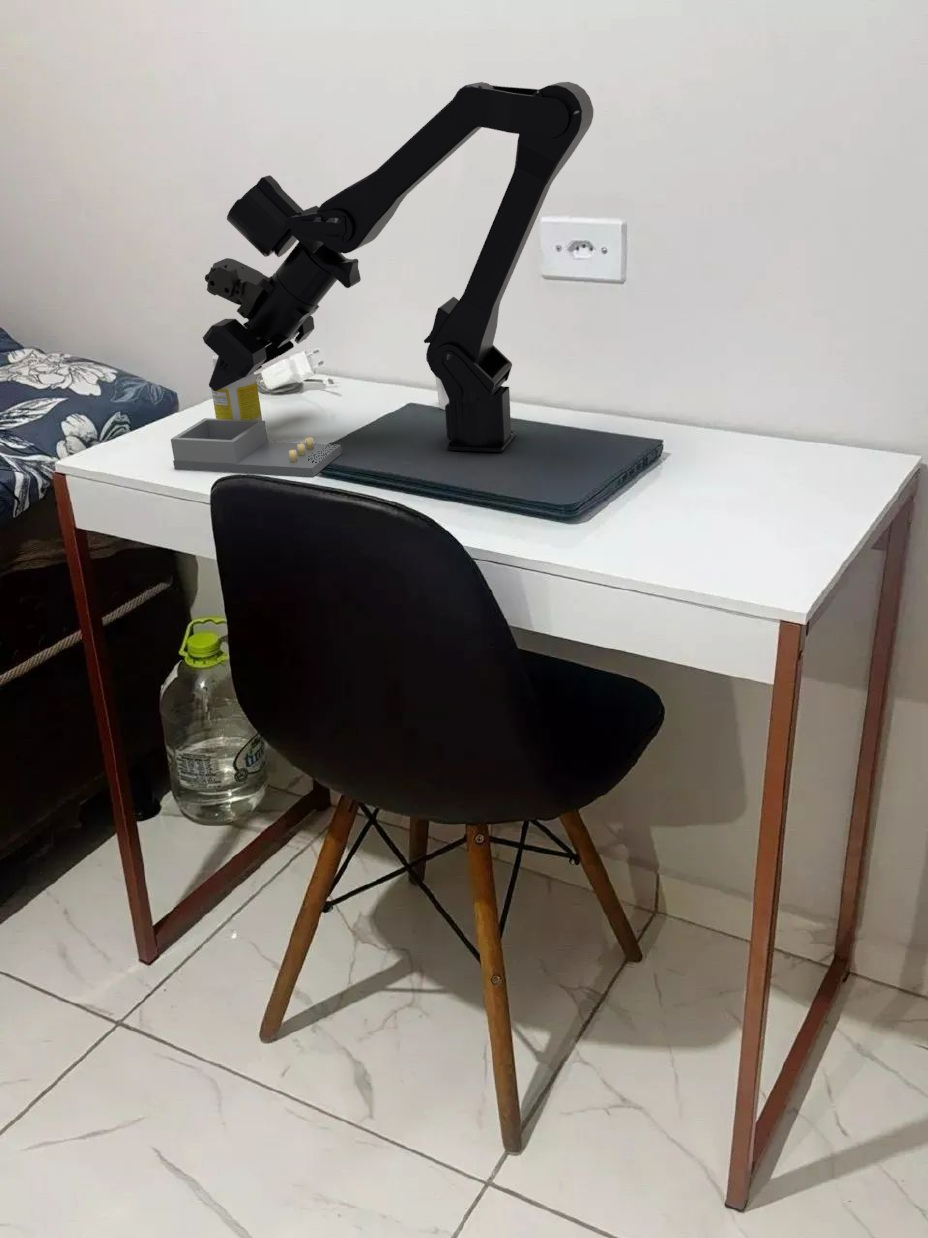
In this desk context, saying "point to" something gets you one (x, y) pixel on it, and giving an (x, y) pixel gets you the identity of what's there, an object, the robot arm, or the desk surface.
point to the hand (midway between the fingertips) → (223, 381)
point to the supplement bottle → (237, 399)
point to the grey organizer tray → (246, 450)
